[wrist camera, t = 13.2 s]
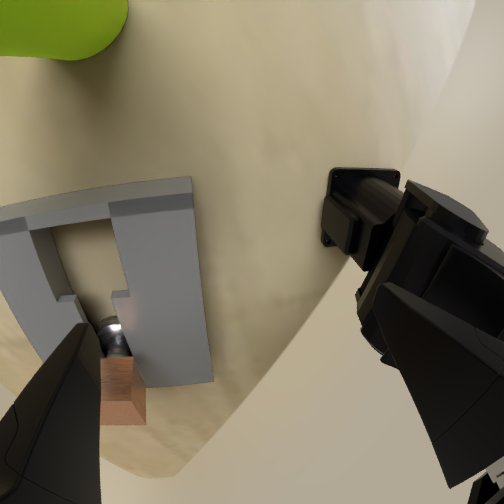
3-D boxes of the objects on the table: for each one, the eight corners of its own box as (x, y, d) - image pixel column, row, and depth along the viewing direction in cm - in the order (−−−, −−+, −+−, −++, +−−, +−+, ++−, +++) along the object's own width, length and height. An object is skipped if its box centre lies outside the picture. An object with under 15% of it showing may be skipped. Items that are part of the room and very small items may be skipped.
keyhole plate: (-7, 208, 16) (-26, 227, 14) (190, 176, 19) (192, 192, 17) (67, 366, 26) (62, 388, 23) (210, 357, 29) (214, 381, 26)
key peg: (138, 314, 24) (133, 399, 17) (148, 346, 26) (149, 425, 19) (92, 317, 23) (76, 399, 16) (106, 349, 26) (99, 425, 19)
